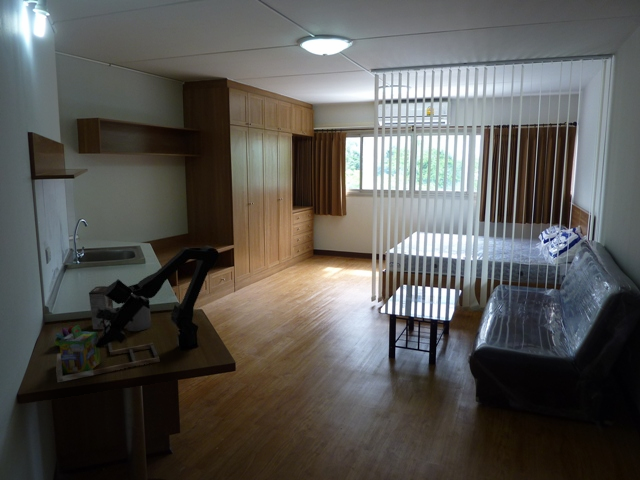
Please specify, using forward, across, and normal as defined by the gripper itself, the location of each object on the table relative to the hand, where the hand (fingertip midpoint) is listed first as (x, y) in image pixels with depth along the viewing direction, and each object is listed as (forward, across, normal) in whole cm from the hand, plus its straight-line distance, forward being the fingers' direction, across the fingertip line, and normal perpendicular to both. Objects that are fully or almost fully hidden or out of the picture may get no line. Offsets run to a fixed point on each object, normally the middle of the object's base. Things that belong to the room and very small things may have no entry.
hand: (96, 347), depth 163 cm
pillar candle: (-7, -32, +17) cm, 37 cm away
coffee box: (+2, -42, +8) cm, 43 cm away
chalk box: (+8, 0, +1) cm, 9 cm away
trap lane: (+2, -5, +7) cm, 9 cm away
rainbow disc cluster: (+12, -25, -2) cm, 28 cm away
